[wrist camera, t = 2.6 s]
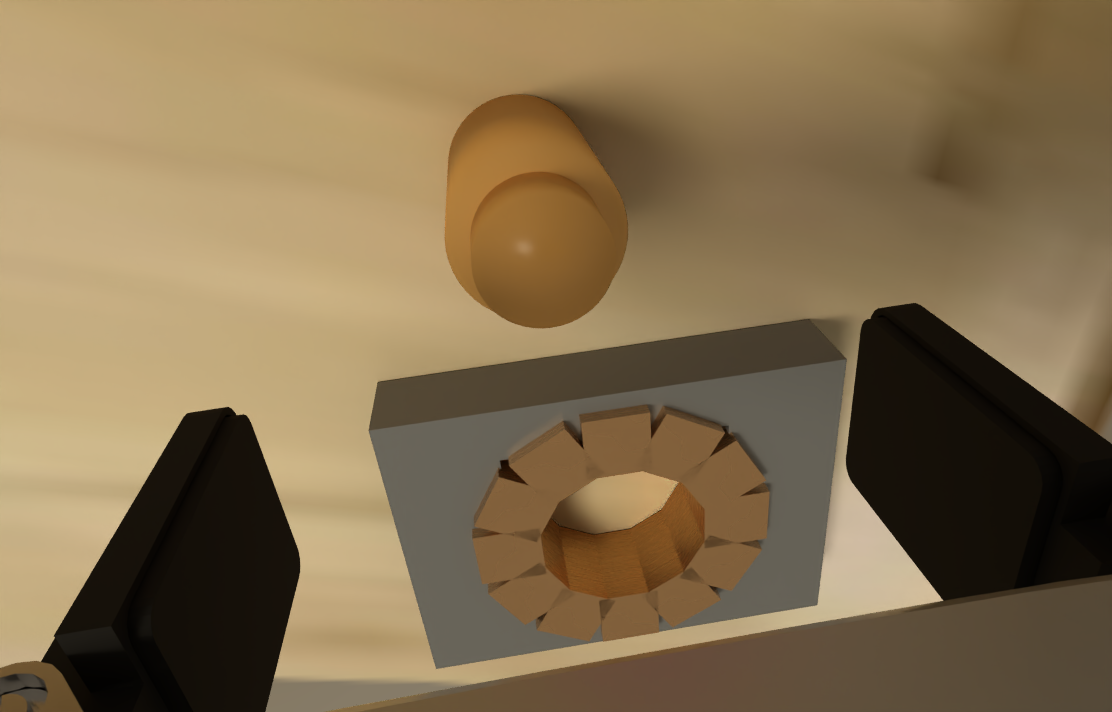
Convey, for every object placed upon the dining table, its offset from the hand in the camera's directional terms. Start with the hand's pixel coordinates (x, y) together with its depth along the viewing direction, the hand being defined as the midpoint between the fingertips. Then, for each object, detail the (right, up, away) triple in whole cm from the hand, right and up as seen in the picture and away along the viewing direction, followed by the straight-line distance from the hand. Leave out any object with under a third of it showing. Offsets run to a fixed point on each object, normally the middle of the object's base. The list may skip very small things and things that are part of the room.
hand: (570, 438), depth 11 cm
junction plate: (+2, -4, +18) cm, 19 cm away
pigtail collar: (+2, -4, +18) cm, 19 cm away
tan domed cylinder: (-1, +7, +12) cm, 14 cm away
